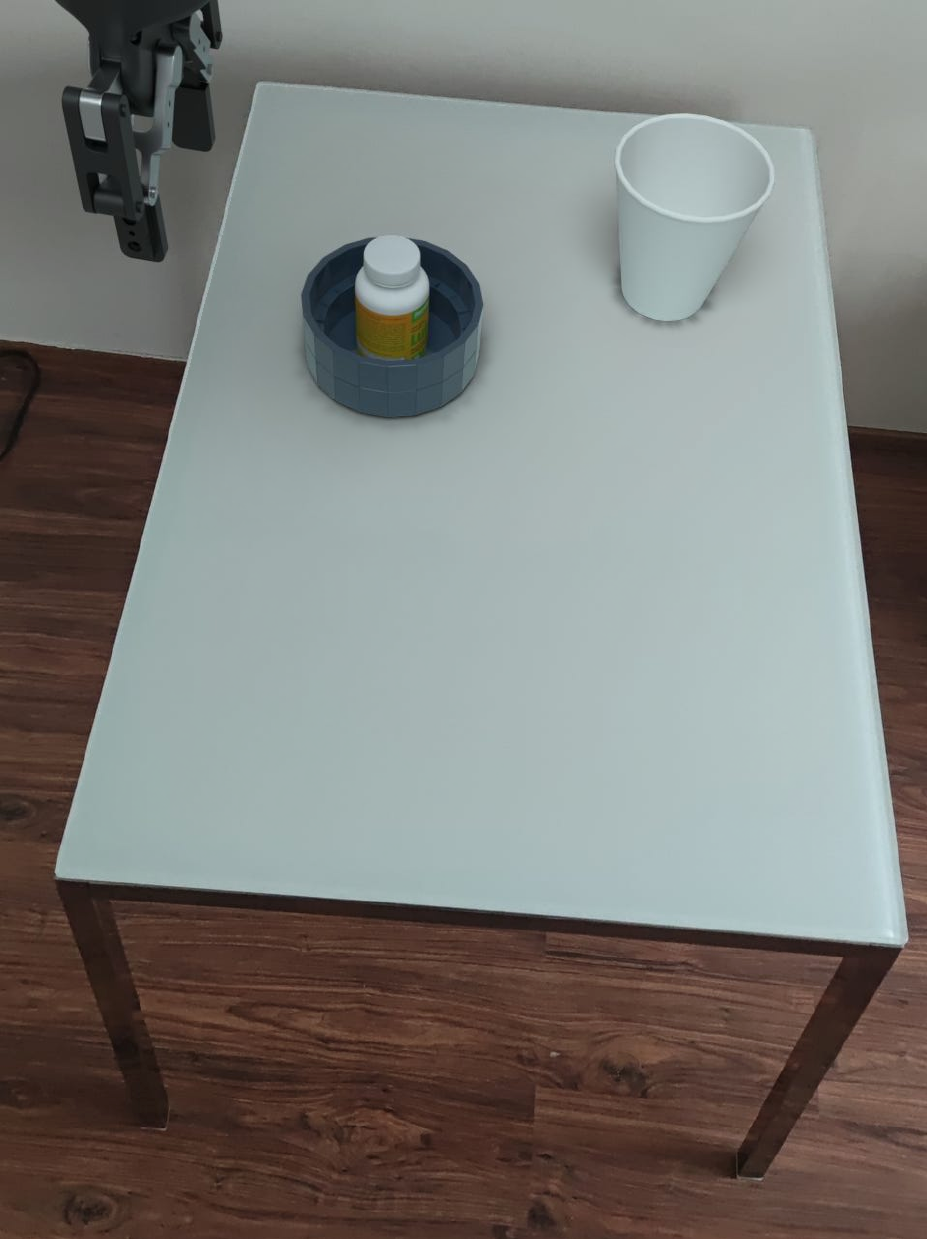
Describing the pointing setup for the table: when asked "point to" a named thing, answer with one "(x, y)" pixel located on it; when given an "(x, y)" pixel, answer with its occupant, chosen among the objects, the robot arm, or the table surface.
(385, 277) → the supplement bottle
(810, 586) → the table surface
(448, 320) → the bowl
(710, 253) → the cup
